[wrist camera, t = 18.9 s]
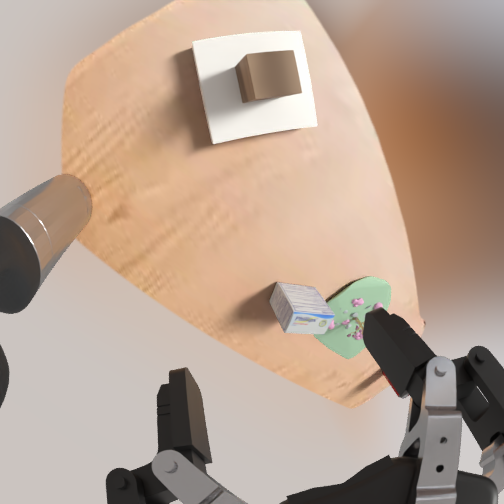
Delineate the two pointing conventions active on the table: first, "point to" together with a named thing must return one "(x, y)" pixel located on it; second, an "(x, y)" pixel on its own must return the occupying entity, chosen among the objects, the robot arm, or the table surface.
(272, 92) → the walnut block
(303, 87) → the stand
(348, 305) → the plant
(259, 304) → the table surface
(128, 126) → the table surface
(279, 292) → the medicine box
